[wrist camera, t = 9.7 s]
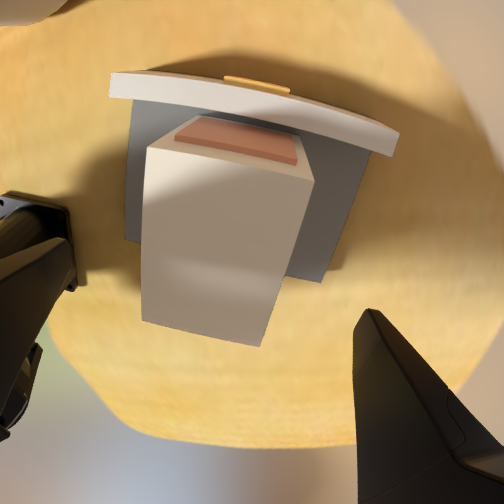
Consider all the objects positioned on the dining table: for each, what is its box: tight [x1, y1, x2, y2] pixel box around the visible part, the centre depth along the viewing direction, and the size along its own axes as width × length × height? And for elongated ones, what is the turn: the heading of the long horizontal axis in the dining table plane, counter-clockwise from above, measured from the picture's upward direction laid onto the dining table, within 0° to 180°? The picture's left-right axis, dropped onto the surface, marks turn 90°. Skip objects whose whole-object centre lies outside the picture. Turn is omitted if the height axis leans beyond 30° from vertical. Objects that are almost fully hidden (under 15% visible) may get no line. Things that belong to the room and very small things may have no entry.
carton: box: [141, 115, 315, 347], centre depth 12 cm, size 7×4×6 cm
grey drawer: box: [109, 70, 400, 283], centre depth 14 cm, size 11×9×4 cm
